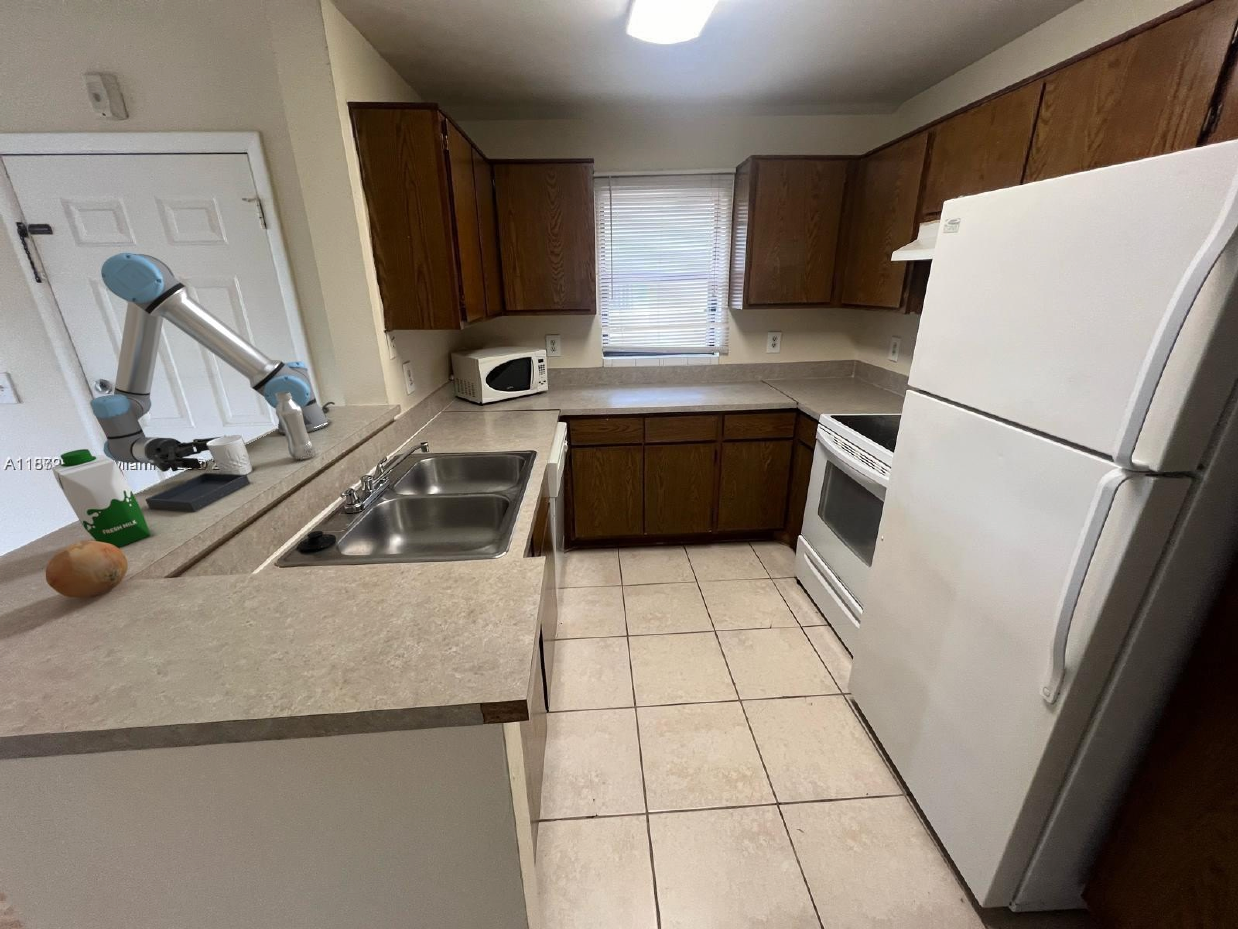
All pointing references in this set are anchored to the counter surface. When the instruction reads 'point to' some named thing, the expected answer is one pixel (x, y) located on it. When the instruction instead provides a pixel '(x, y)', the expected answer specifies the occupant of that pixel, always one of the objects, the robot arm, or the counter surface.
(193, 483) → the baking tray
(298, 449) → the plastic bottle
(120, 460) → the robot arm
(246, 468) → the white cup
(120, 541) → the milk carton
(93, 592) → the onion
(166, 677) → the counter surface
